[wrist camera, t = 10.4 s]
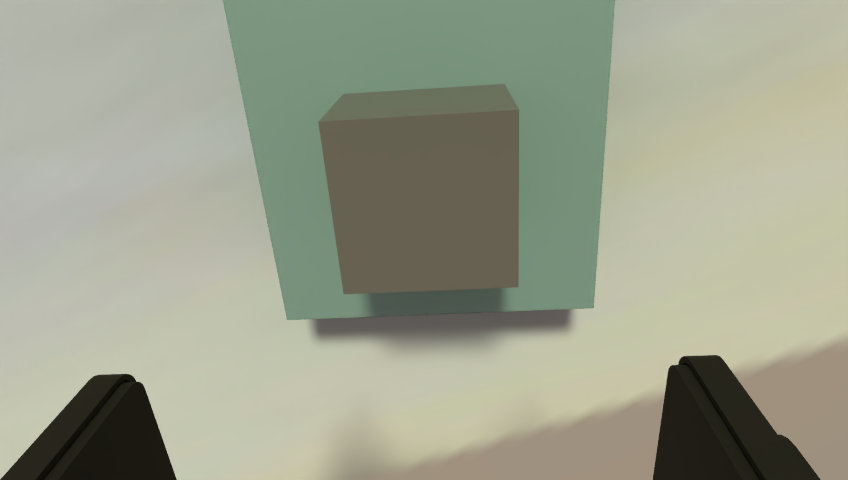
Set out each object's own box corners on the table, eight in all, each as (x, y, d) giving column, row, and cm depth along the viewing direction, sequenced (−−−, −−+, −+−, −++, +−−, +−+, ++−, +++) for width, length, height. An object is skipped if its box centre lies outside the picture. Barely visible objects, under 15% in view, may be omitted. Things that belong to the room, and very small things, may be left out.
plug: (496, 69, 26) (519, 109, 18) (498, 201, 29) (518, 287, 21) (357, 78, 27) (318, 121, 18) (371, 207, 29) (343, 294, 21)
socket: (589, -37, 25) (617, -40, 21) (574, 264, 31) (593, 308, 27) (256, -12, 26) (221, -10, 22) (307, 276, 32) (287, 320, 28)
